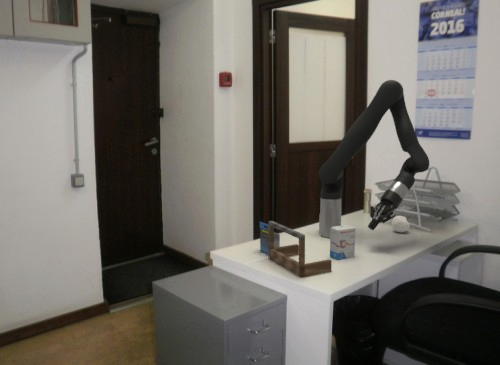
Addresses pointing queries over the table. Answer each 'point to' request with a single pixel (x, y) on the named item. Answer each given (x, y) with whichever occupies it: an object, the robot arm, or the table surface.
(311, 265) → the frame
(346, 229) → the ink box
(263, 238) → the label tape cartridge
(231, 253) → the table surface
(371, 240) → the table surface
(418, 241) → the table surface
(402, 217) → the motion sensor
